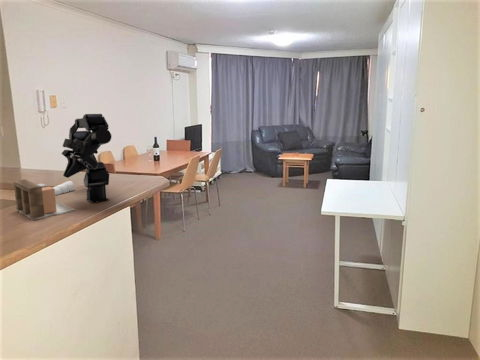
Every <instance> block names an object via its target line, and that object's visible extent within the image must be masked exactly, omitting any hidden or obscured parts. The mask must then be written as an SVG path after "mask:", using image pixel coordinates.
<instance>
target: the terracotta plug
mask: <svg viewBox="0 0 480 360" xmlns="http://www.w3.org/2000/svg"><path fill="white" fill-rule="evenodd" d="M42 195H43V205H44V214H45V213H50V212H55V211H56V202H57V201H56V195H55V189H54V188H53V187H52V186H47V187H45V188H42Z"/></svg>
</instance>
